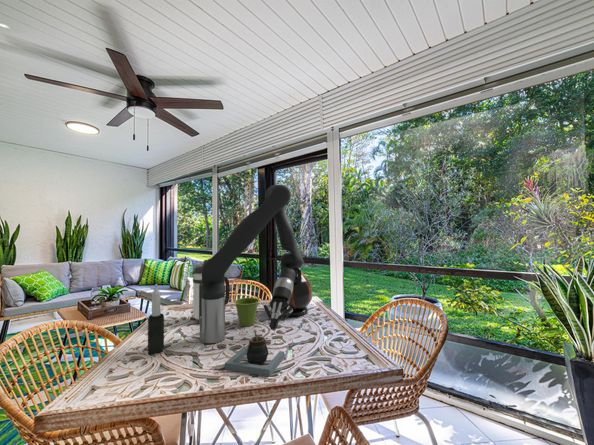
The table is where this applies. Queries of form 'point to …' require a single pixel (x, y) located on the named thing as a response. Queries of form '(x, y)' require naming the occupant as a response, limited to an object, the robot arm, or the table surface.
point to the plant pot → (246, 310)
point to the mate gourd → (257, 350)
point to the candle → (155, 326)
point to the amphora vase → (299, 293)
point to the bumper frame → (251, 368)
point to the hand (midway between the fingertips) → (272, 329)
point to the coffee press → (198, 292)
